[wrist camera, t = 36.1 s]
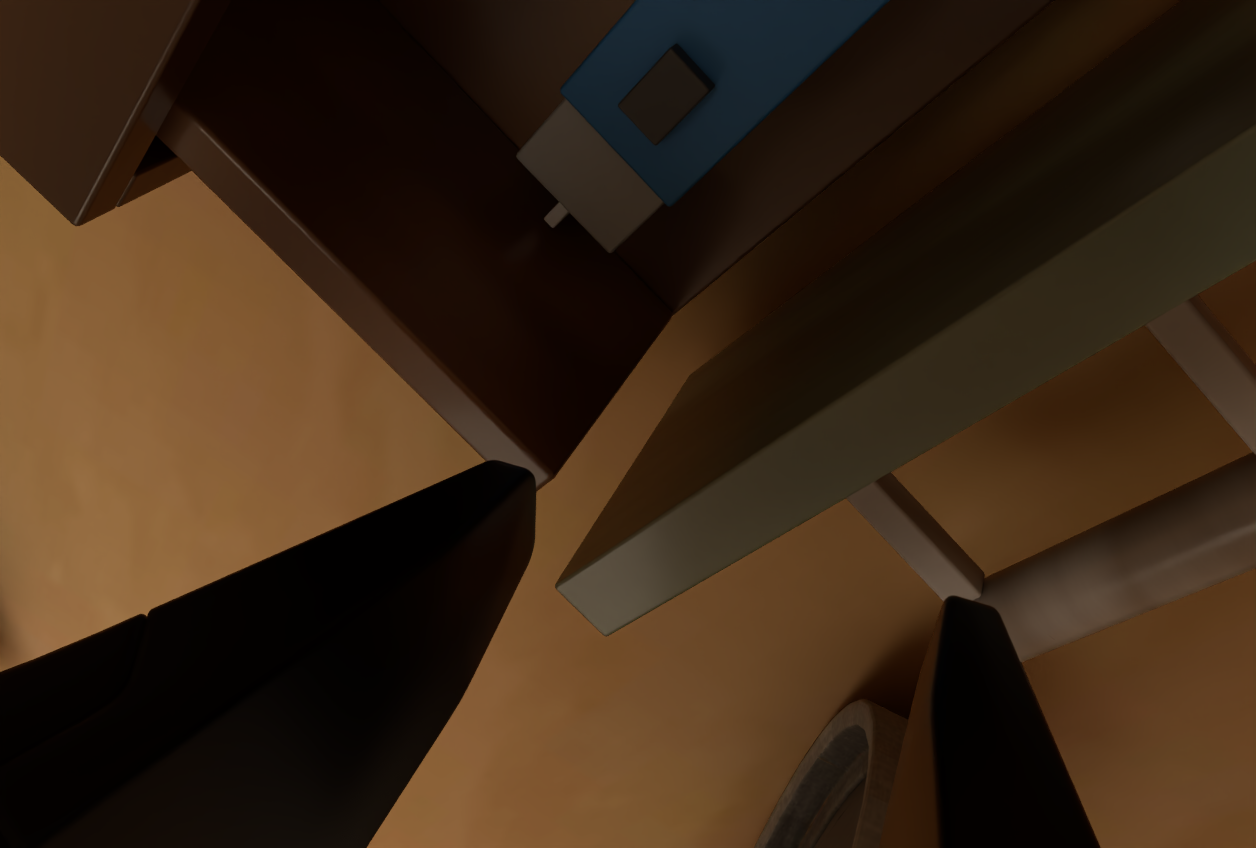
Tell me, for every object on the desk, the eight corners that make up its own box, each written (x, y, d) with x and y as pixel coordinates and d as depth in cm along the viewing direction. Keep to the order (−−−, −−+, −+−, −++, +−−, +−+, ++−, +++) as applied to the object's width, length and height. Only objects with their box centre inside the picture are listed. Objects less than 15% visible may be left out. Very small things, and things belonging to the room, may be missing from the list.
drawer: (1586, 223, 15) (1835, 502, 10) (882, 579, 23) (811, 839, 18) (699, -964, 12) (379, -1472, 7) (240, -94, 20) (-74, -23, 15)
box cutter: (958, -341, 13) (929, -349, 11) (1080, -189, 14) (1073, -171, 12) (530, 148, 19) (458, 202, 17) (623, 245, 20) (564, 309, 18)
